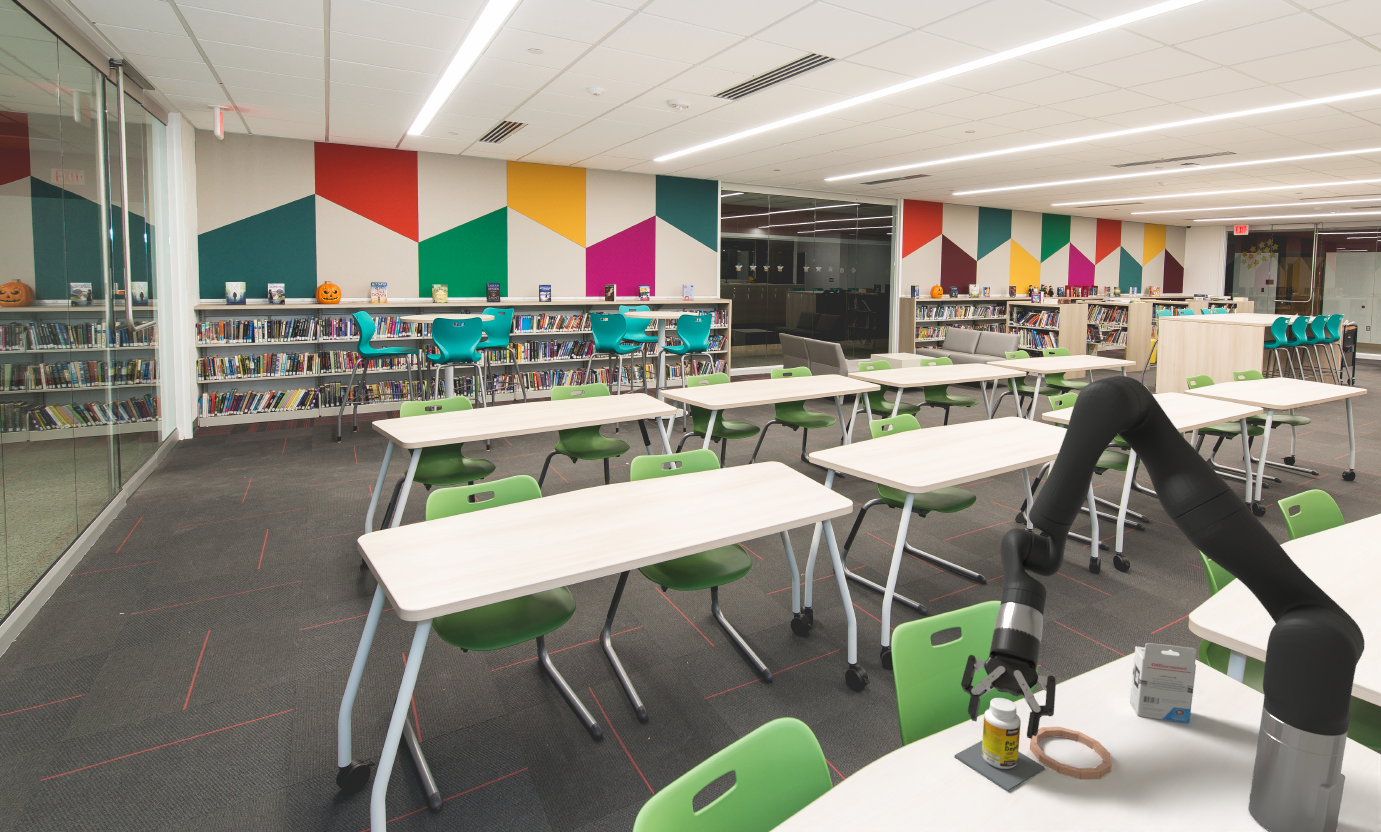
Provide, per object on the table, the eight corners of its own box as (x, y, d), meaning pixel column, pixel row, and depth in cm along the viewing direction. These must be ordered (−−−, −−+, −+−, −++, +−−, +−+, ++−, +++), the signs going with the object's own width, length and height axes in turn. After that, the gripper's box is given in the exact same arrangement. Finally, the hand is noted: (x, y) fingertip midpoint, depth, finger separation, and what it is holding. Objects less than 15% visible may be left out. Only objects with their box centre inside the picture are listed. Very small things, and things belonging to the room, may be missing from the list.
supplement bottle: (1004, 775, 113) (1008, 717, 111) (974, 757, 117) (977, 701, 116) (1024, 762, 116) (1028, 706, 114) (994, 745, 120) (997, 691, 119)
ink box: (1180, 709, 131) (1188, 636, 129) (1190, 724, 127) (1199, 649, 124) (1128, 702, 134) (1136, 630, 131) (1136, 716, 129) (1144, 642, 127)
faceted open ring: (1124, 761, 117) (1125, 755, 116) (1084, 788, 110) (1085, 781, 110) (1055, 725, 127) (1056, 719, 126) (1015, 747, 120) (1015, 741, 120)
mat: (1045, 769, 115) (1045, 767, 115) (1007, 791, 110) (1008, 789, 110) (991, 737, 123) (991, 735, 123) (954, 757, 118) (954, 754, 118)
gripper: (972, 617, 123) (953, 708, 116) (1062, 638, 116) (1048, 736, 108) (976, 633, 129) (958, 721, 121) (1063, 654, 121) (1049, 749, 113)
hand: (1001, 728), depth 115 cm, fingers open, 8 cm apart
